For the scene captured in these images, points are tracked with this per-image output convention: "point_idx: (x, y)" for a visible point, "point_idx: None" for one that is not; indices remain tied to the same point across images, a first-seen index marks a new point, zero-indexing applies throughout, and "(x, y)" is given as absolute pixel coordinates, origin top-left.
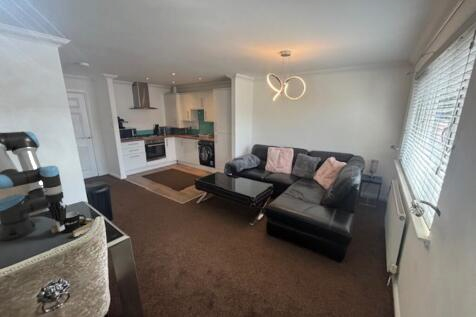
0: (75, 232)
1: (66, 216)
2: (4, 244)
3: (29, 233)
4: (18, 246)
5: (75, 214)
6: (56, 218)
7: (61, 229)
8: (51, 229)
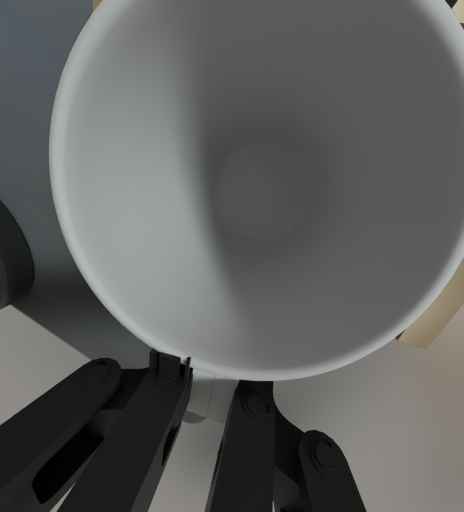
0: (426, 336)
1: (122, 161)
2: (41, 325)
3: (26, 250)
4: (115, 345)
5: (229, 26)
6: (169, 450)
7: None
8: None
